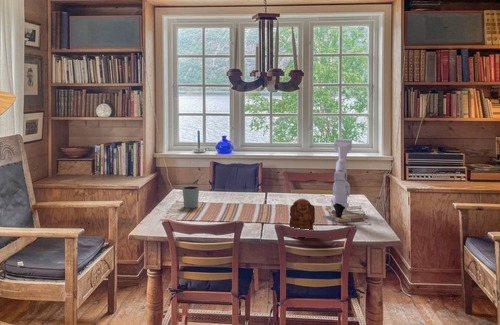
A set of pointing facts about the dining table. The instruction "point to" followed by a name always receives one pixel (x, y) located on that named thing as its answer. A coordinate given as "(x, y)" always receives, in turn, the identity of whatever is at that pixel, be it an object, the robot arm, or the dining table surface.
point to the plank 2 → (341, 219)
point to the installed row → (352, 216)
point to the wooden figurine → (302, 214)
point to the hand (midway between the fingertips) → (338, 217)
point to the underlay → (335, 221)
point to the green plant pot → (190, 196)
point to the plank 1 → (330, 210)
